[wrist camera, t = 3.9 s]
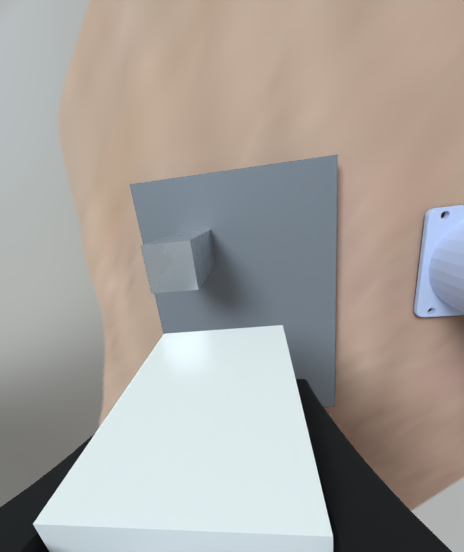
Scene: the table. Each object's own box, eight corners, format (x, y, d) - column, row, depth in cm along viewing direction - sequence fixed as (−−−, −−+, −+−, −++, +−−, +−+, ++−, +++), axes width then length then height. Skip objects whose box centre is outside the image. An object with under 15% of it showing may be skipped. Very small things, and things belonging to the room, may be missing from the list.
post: (213, 228, 17) (189, 240, 11) (217, 261, 18) (198, 289, 12) (180, 231, 18) (140, 245, 12) (186, 264, 18) (151, 293, 12)
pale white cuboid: (282, 324, 10) (332, 536, 4) (290, 420, 11) (334, 684, 5) (164, 333, 11) (32, 524, 4) (186, 422, 12) (114, 658, 6)
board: (332, 157, 15) (337, 154, 14) (330, 397, 21) (334, 406, 20) (136, 185, 17) (129, 184, 16) (183, 400, 23) (180, 408, 22)
